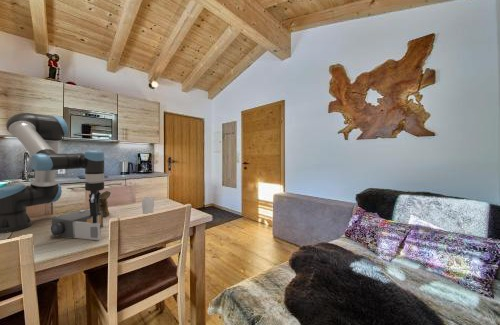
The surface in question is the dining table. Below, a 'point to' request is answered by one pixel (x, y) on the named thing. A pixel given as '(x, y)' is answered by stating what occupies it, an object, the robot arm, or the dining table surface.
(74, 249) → the dining table surface
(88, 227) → the side door
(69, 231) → the camera housing
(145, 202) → the drinking glass
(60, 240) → the dining table surface
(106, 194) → the brown irregular piece
